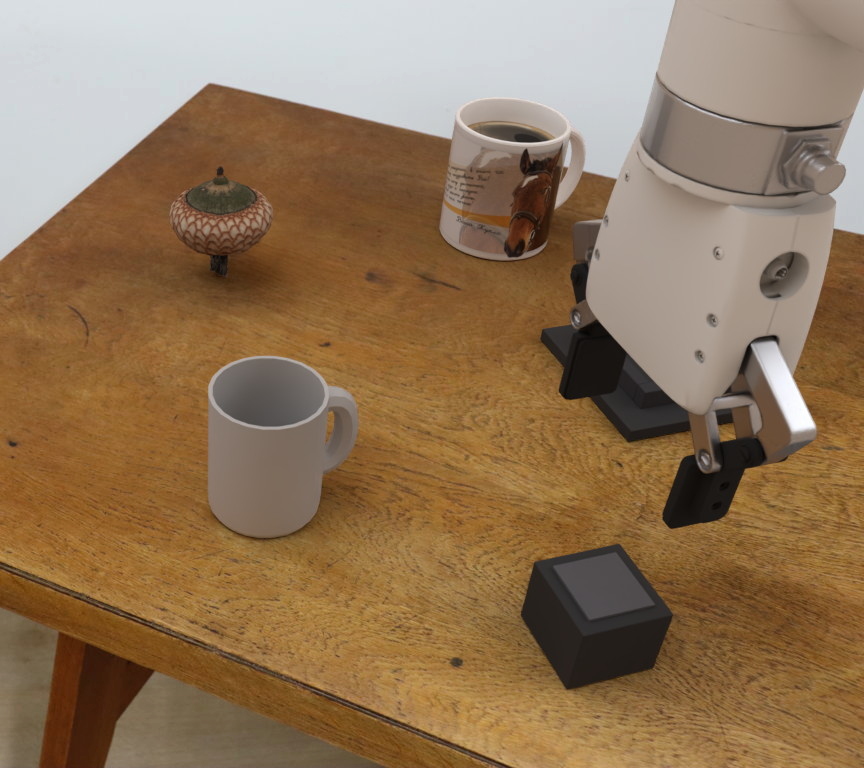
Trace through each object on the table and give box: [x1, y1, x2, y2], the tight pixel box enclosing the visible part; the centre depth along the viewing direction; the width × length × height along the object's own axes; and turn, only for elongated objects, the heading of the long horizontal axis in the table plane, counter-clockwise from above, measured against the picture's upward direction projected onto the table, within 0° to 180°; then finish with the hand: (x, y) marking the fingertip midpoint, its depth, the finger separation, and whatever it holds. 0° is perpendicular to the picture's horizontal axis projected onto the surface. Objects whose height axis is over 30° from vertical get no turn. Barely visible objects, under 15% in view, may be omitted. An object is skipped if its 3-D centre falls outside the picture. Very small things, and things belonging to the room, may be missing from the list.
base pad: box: [539, 324, 762, 443], centre depth 83 cm, size 13×13×2 cm
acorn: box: [168, 165, 274, 278], centre depth 90 cm, size 8×8×10 cm
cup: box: [207, 355, 360, 539], centre depth 69 cm, size 7×10×9 cm
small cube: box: [520, 543, 674, 690], centre depth 62 cm, size 6×6×5 cm
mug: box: [438, 96, 587, 261], centre depth 97 cm, size 10×12×11 cm
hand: (636, 452), depth 55 cm, fingers open, 9 cm apart
